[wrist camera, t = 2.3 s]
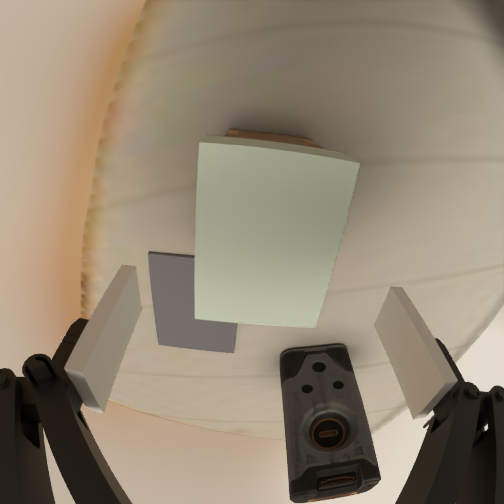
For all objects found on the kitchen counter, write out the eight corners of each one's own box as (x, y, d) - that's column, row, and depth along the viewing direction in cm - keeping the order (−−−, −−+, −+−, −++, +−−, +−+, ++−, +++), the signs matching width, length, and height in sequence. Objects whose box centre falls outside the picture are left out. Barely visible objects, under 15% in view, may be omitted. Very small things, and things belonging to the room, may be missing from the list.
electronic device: (348, 341, 37) (386, 478, 19) (342, 367, 40) (370, 491, 22) (279, 348, 37) (291, 495, 20) (279, 374, 40) (289, 504, 23)
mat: (149, 251, 30) (148, 253, 29) (243, 260, 30) (243, 262, 30) (159, 342, 37) (158, 344, 36) (233, 350, 37) (233, 353, 37)
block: (210, 132, 19) (199, 142, 15) (338, 148, 19) (359, 163, 15) (202, 283, 25) (194, 318, 21) (306, 292, 25) (314, 327, 22)
